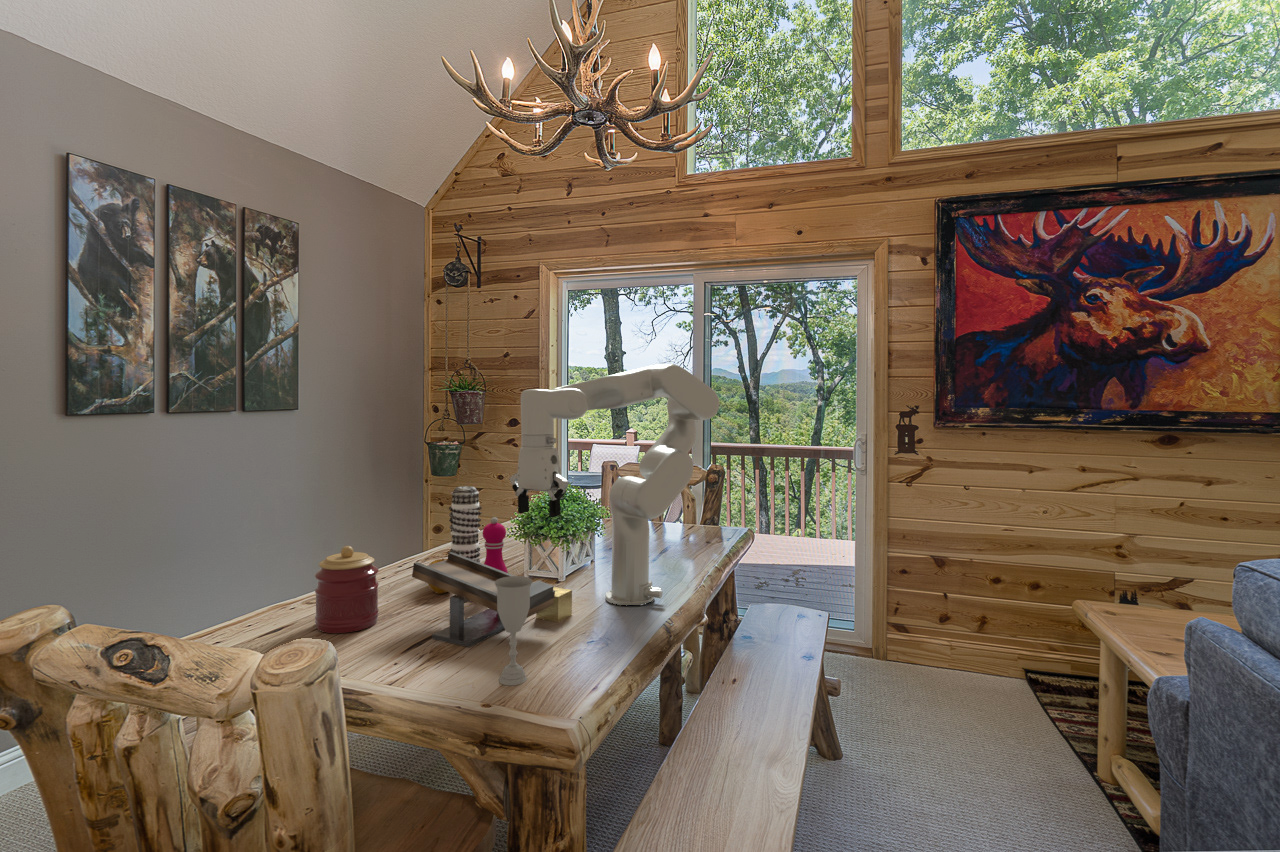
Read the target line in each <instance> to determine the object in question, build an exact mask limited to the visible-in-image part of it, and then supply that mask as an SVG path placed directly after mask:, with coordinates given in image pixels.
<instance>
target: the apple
mask: <svg viewBox="0 0 1280 852" xmlns="http://www.w3.org/2000/svg"><path fill="white" fill-rule="evenodd" d="M447 559H448V558H438V559H434V560H433V561H432V562H430V563H428V565H431V564H434V563H437V562H440V561H443V560H447ZM427 585H428V586H429V587H430V589H431V590H432V591H433V592H434V593H436V594H439V595H440V594H441V595H442V594H445V593H447V592H448V591H445V590H443V589H440V588H438V587H436V586H433V585H431V584H428V583H427ZM448 593H449V592H448Z"/></svg>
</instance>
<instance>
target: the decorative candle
mask: <svg viewBox="0 0 1280 852" xmlns="http://www.w3.org/2000/svg"><path fill="white" fill-rule="evenodd" d="M479 493H480V491H478V489H477V488H476V487H475V486H467V485H464V486H457V487H455V488H454V489H453V491H452V492H450V494H451V496H452V498H451V506H449V507H448V510H449V511H450V513H449V514H448V515H449V517H450V518H449V522H450V526H449V529H450V534H451V545H450V547H451V548H450V550H449V552H453V553H455V554H458V555H461V556H463V557H466V558H469V559H471V560H474V561H477V562H479V563H481V559H480V556H481V553H480V550H481V547H480V541H479V537H480V536H479V534H480V533H481V530H480V529H479V528H480V527H481V526H482V525H481V524H480V522H481V521H482V519H481V518H480V517H479V516H481V515H482V512H481V510H482V509H483V507H482V506H481V505H480V501H479V499H480V498H479V497H480V496H479Z"/></svg>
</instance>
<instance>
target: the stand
mask: <svg viewBox="0 0 1280 852" xmlns="http://www.w3.org/2000/svg"><path fill="white" fill-rule="evenodd" d="M501 631H505V628H504V626H503V624H502V622H501V620H500V617H499V614H498V612H496V611H494V610H492V609H489V608H487V609H485V610H483V611H481V612H479V613H476V614H474V615H472V616H469V617H467V618H465V603H464V597H463V596H458V595H455V594H453V595H451V596H449V625H448V626H447V627H445V628H443V629H440V630H438V631H436V632H434V633H432V634H431V639H432V640H436V641H439V642H443V643H448V644H454V645H456V646H457V645H458V646H462V647H466V648H470V647H472V646H475V645H476V644H479V643H480V642H483V641H484V640H486V639H488V638H490V637H492V636H494V635H496V634H498V633H501Z"/></svg>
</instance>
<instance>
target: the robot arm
mask: <svg viewBox="0 0 1280 852" xmlns="http://www.w3.org/2000/svg"><path fill="white" fill-rule="evenodd" d="M660 398H663V399H665V398H667V401H666V402H667V403H666V407H667V409H666V410H667V413H668V414H667V415H668V417H667V419H668V421H667V422H668V423H667V427H666V429H665V430H664V431H663V433H662V434H661V435H660V436H659V438H657V440H656V441H655V442H654V443H653V445H651V446H650V448H649V449H648V450H647V451H646V452H645V453H644V455H643V456H642V458H641V459H640V460H639V464H638V466H639V467H638V469H639V473H640V475H641V476H642V477H637V476H632V475H626V476H622V477H619V478H618V479H616V480H615V481H614V482H613V483H612V486H611V487H610V490H609V494H608V495H609V506H610V513H611V521H612V524H611V525H612V526H611V527H612V532H611V533H612V534H611V535H612V538H611V589H610V590H608V591H606V593H605V594H604V595H605V600H606V601H607V602H609V603H610V604H612V603H613V605H616V604H617V606H621V605H626V606H625V607H628V606H627V605H640V606H642V605H641V604H645V603H648V602H651V601H652V600H653V599H654V600H655V598H656V599H662V597H663V590H662V588H660V587H654V586H653V581H652V580H649V579H650V577H649V575H650V571H649V570H650V568H649V567H650V566H649V565H650V525H649V520H653V519H654V520H655V519H657V518H659V517H660V516H662V515H663V514H664V513H665V512H666V511H667V510H668V509H669V508H670V506H671V505H673V503H674V501H675V500H676V499H677V498H678V497H679V495H681V493H682V492H683V491H684V489H685V488H687V486H688V485H689V483H690V481H691V479H692V478H693V474H694V462H693V459H692V457H691V455H690V454H689V452H690V451H691V450H692V448H693V447H694V446H695V442H696V438H697V437H696V436H697V435H696V434H697V431H696V421H707V420H710V419H712V418H713V417H715V416H716V414H717V413H718V411H719V409H720V400H719V396H718V395H717V393H716V391H714V389H713V388H711V387H710V386H709V385H708V384H706V383H705V382H703V381H702V380H700V378H698V377H696V375H694V374H692V373H691V372H690V371H688V370H687V369H685V368H684V367H682V366H681V365H680V366H679V365H677V364H674V363H667V364H666V363H665V364H653V365H649V366H644V367H640V368H637V369H631V370H627V371H623V372H618V373H615V374H610V375H605V376H601V377H598V378H594V379H589V380H585V381H581V382H576V383H570V384H567V385H562V386H559V387H554V388H552V389H546V388H545V389H543V388H532V389H531V388H530V389H525V390H523V391H521V393H520V428H521V430H520V432H521V433H520V434H521V438H520V439H521V443H520V444H521V447H520V448H519V454H518V458H517V459H518V461H517V472H515V473H514V474H513V475H511V476H509V481H510V483H511V484H510V485H511V486H512V487H511V488H512V490H513V491H514V493H515V496H516V497H517V513H518V514H524V513H529V511H530V496H529V494H528V493H529V492H530V491H533V492H534V491H536V492H546V493H547V494H548V496H549V498H550V499H549V503H548V507H549V508H548V509H549V510H548V511H549V518H556V517H560V516H561V499H564V498H563V497H564V495H566V493H567V489H568V487H569V484H570V482H569V480H567V479H566V478H565V477H563V476H562V472H561V471H562V470H561V461H560V455H559V452H558V448H557V447H555V444H556V443H557V442H558V441H557V438H556V437H555V429H554V427H555V425H554V424H555V423H554V421H555V420H556V419H557V420H559V419H561V420H569V421H571V420H572V421H573V420H577V419H580V418H582V417H583V416H584V415H585V414H586V413H587V412H588V411H593V410H611V409H619V408H625V407H628V406H633V405H635V404H640V403H643V402H647V401H652V400H655V399H660ZM554 419H555V420H554ZM654 600H653V601H654ZM653 601H652V602H653ZM652 602H651V603H652ZM645 605H646V604H645Z"/></svg>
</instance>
